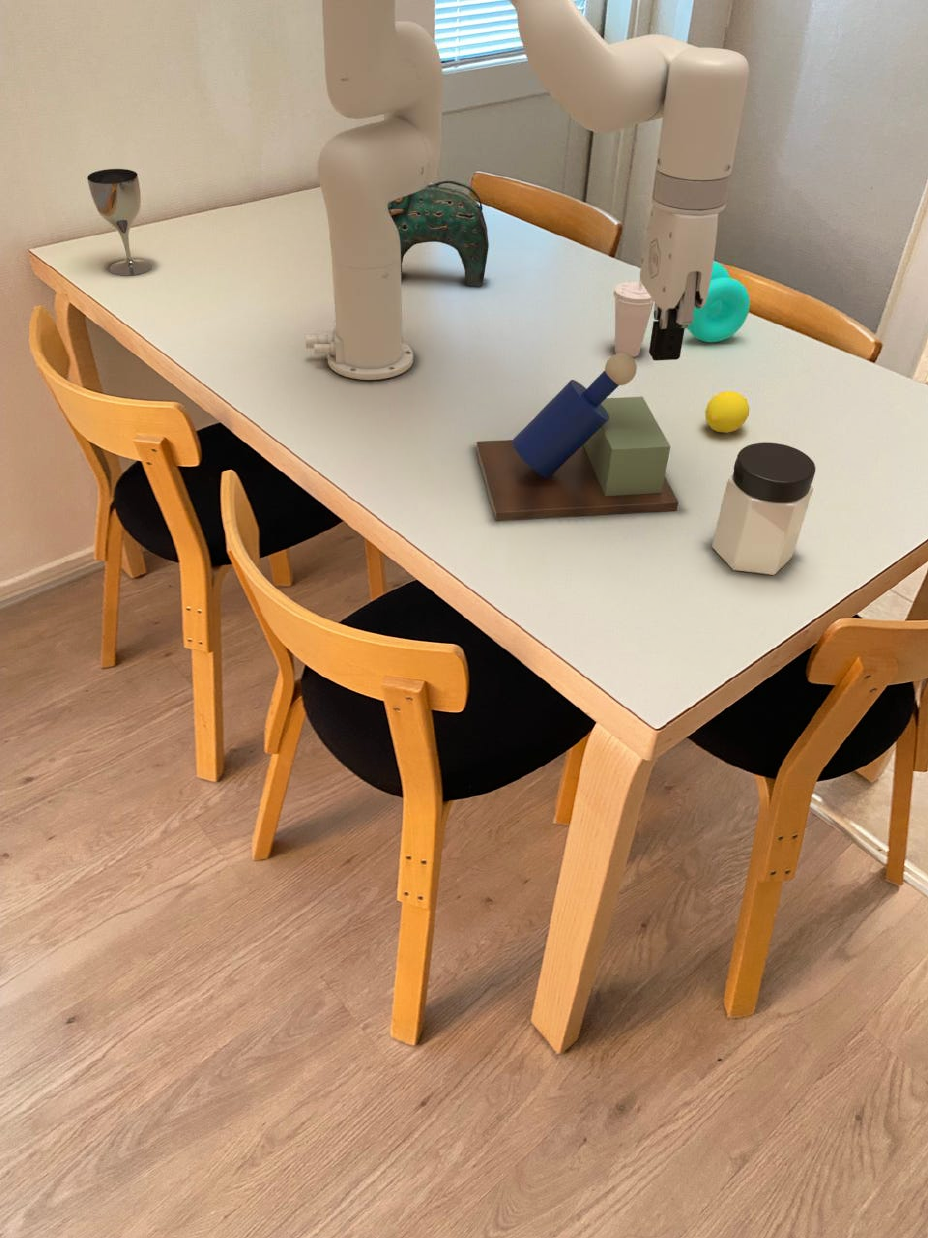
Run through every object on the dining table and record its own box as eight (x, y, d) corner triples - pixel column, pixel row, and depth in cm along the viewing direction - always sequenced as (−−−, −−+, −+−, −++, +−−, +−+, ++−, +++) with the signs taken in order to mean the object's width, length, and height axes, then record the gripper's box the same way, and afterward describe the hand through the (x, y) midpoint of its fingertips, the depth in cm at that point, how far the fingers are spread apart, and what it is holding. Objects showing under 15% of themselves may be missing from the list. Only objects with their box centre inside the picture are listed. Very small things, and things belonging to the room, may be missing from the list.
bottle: (515, 487, 117) (524, 370, 107) (506, 459, 122) (514, 345, 112) (626, 482, 118) (645, 366, 108) (613, 454, 123) (630, 341, 113)
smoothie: (646, 363, 145) (661, 270, 136) (604, 358, 146) (615, 266, 137) (649, 344, 150) (663, 254, 141) (607, 340, 151) (619, 249, 142)
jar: (737, 521, 115) (760, 431, 107) (802, 549, 111) (830, 458, 103) (699, 555, 109) (720, 464, 102) (765, 586, 106) (793, 493, 98)
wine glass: (164, 265, 169) (148, 174, 159) (129, 279, 164) (110, 186, 154) (132, 255, 172) (114, 165, 162) (97, 269, 167) (76, 177, 157)
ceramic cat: (369, 282, 166) (364, 157, 152) (376, 268, 170) (372, 145, 157) (485, 291, 164) (490, 165, 151) (488, 276, 169) (494, 153, 156)
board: (495, 520, 114) (496, 512, 113) (476, 449, 126) (476, 441, 125) (677, 510, 116) (678, 502, 115) (641, 441, 128) (642, 433, 127)
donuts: (685, 347, 150) (696, 284, 143) (661, 320, 157) (672, 258, 150) (745, 343, 151) (759, 280, 145) (719, 316, 159) (732, 255, 152)
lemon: (725, 446, 128) (733, 409, 124) (691, 430, 131) (698, 394, 127) (754, 428, 131) (764, 392, 128) (721, 413, 134) (729, 377, 131)
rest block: (605, 496, 116) (611, 449, 112) (582, 444, 125) (588, 398, 121) (661, 493, 117) (670, 446, 112) (635, 441, 126) (642, 396, 121)
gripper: (635, 168, 105) (615, 330, 116) (676, 214, 93) (650, 389, 105) (702, 166, 105) (676, 328, 117) (751, 211, 94) (717, 385, 106)
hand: (664, 356), depth 111 cm, fingers closed
